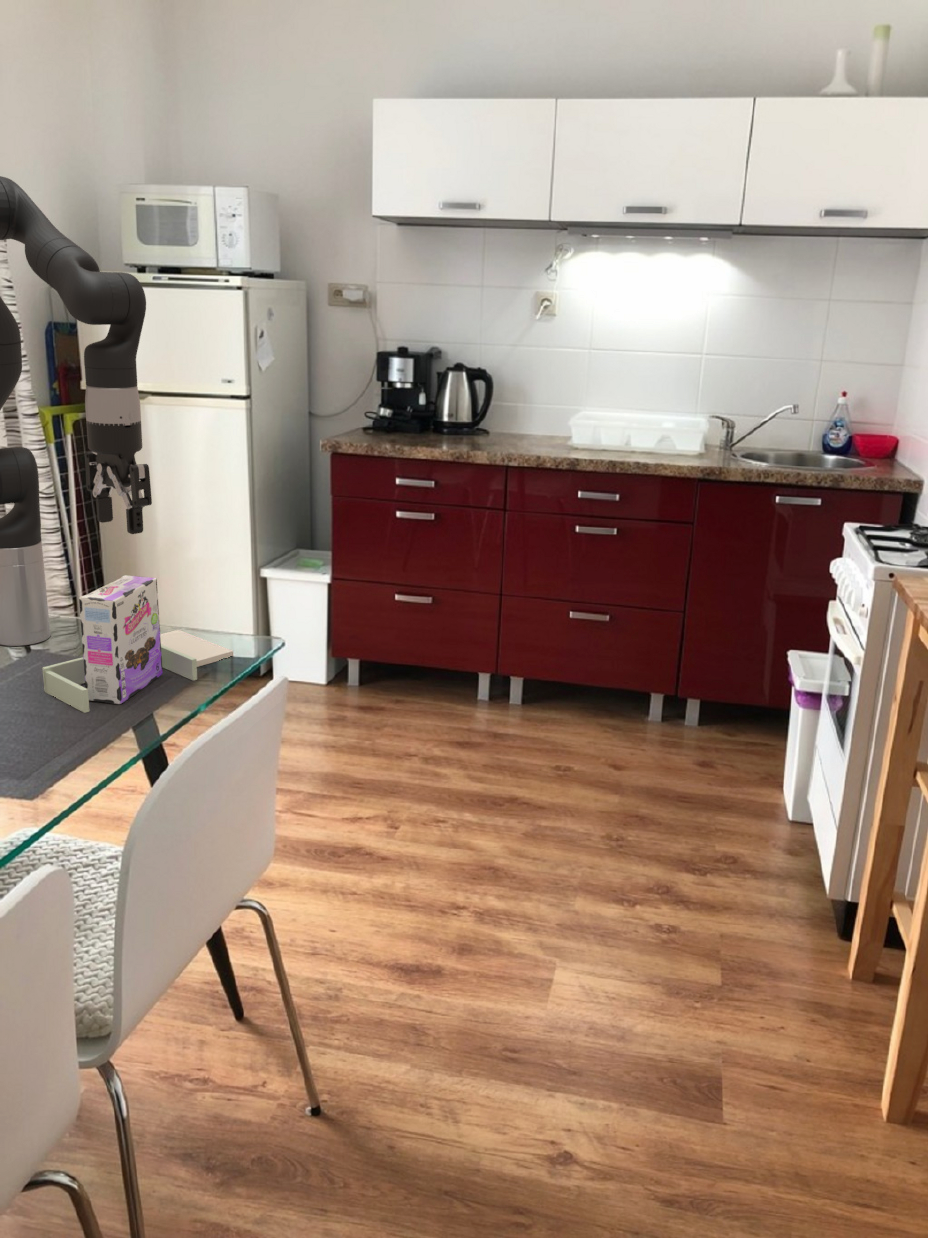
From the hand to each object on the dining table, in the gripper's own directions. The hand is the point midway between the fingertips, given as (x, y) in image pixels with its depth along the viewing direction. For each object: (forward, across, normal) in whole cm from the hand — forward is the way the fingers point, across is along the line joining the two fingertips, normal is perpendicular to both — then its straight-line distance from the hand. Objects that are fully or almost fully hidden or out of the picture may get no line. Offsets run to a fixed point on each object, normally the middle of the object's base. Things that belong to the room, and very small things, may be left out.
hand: (120, 527), depth 155 cm
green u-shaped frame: (+25, 0, -1) cm, 25 cm away
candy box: (+26, 0, -1) cm, 26 cm away
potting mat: (+26, -8, +14) cm, 31 cm away
